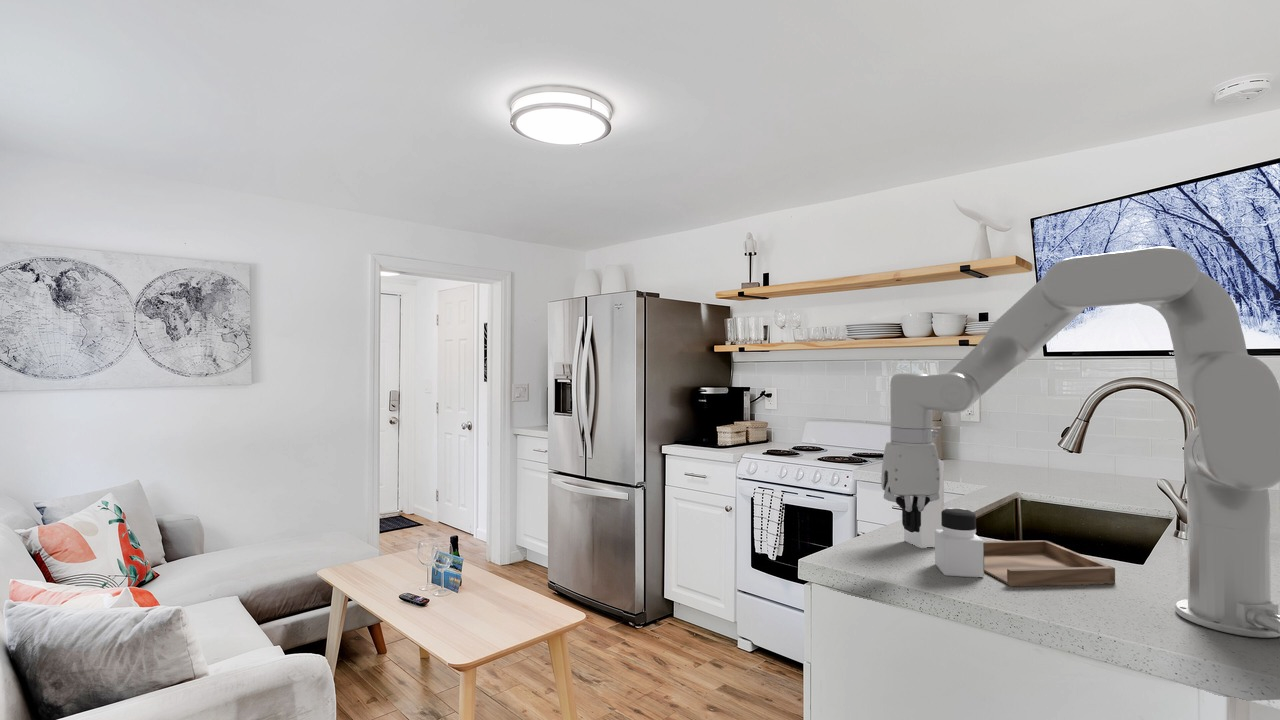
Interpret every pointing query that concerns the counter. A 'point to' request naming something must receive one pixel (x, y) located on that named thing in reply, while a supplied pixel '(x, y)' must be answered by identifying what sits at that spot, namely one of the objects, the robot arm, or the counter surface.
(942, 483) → the milk
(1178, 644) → the counter surface
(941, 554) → the medicine bottle
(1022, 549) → the walnut tray
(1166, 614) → the counter surface
